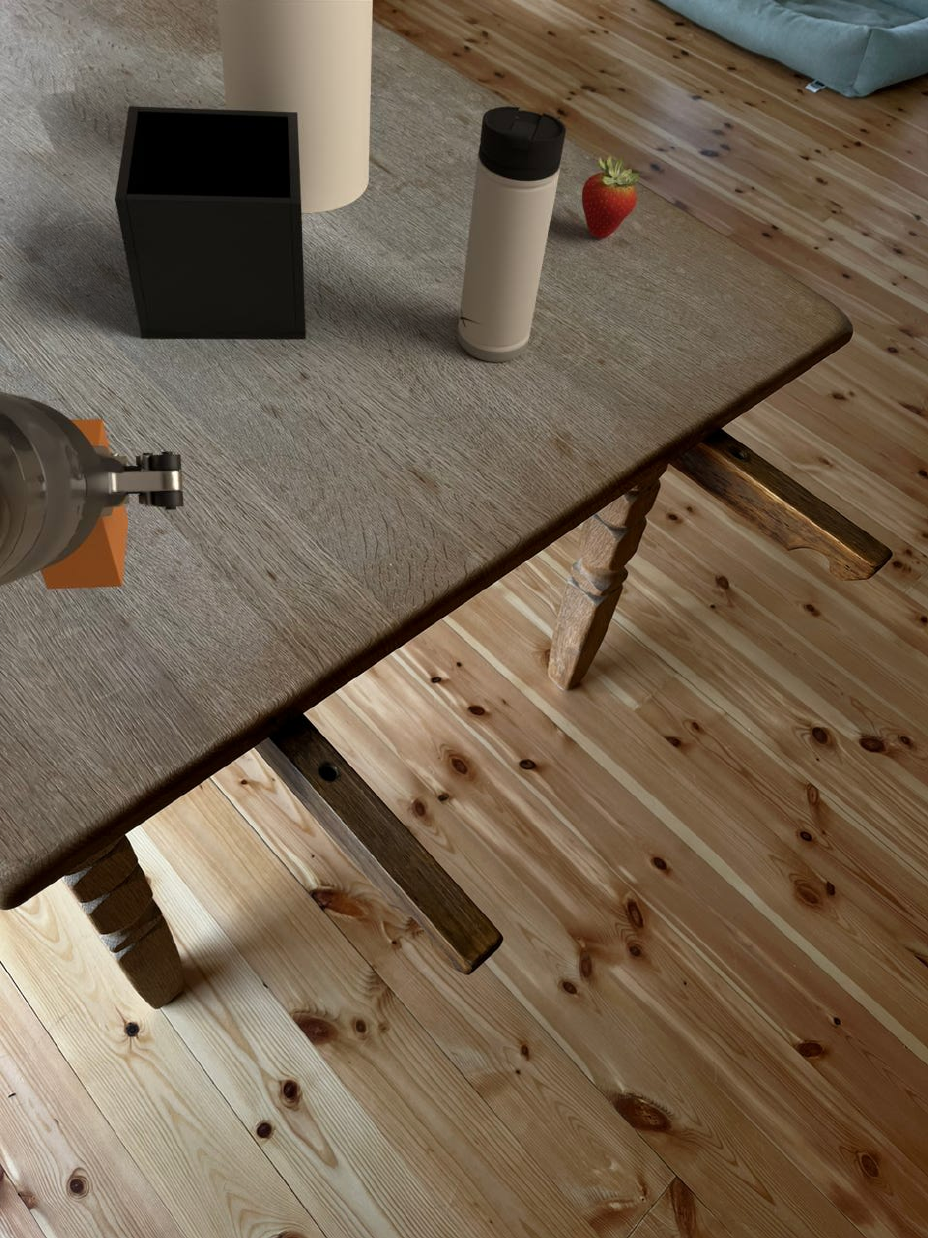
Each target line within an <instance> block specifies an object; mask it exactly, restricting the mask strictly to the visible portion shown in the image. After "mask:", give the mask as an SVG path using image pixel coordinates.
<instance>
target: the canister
mask: <svg viewBox="0 0 928 1238" xmlns="http://www.w3.org/2000/svg"><path fill="white" fill-rule="evenodd" d="M373 6H374V0H216V8H217V19H218V30H219V42H220V52H221V60H222V61H221V63H222V73H223V84H224V97H225V105H226V106H225V107H226V110H247V111H274V112H297V114H298V138H299V162H300V187H301V212H302V214H313V213H314V214H316V213H323V212H324V213H325V212H329V211H333V210H337V209H340V208H343V207H345V206H348V205H350V204H351V203H353V202H355V201H356V200H358V199H359V198H360V197H362V196H363V194H364V193H365V191H366V190H367V188H368V185H369V182H370V181H369V180H370V142H371V141H370V137H371V136H370V134H371V99H372V98H371V97H372V96H371V95H372V94H371V91H372V49H373V10H374V9H373Z"/></svg>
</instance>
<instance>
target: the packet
mask: <svg viewBox="0 0 928 1238" xmlns="http://www.w3.org/2000/svg"><path fill="white" fill-rule="evenodd" d="M70 420H71V421H72V422H73V423H74V424H75V425H76V426H77V427H78V428H79V429H80V430H81V431H82V432H83V434H84V435H85V436H86V438H87V439H88V440H89V442H90V443H91V445H92V446H106V447H107V448H108V450H109V453H112V452H111V448H110V444H109V439H108V436H107V431H106V428H105V424H104V420H103V419H102V418H100V419H99V418H96V419H92V418H91V419H88V418H87V419H70ZM122 505H123V506H121V507H114V508H113V512H112V514H111V515H110V516H103V517H99V519H98V521H97V523H96V525H95V527H94V529H93V530H92V532H91V534H90V535H89V537H88V538H87V539H86V540H85V542H84V543H83V544H82V545H81V546H80V547H79V548H78V549H77V550H76V551H75V552H74V553H72V554H71V555H70V556H68V557H67V558H65V559H64V560H62V561H60V562H58V563H56V564H54V565H52V566H50V567H47V568H45V569H43V570H40V573H41V575H42V578H43V581H44V583H45V587H46V588H47V590H67V589H69V590H70V589H71V590H72V589H90V588H91V589H95V588H98V589H99V588H121V587H123V581H124V572H125V570H124V569H125V561H126V549H127V541H128V540H127V538H128V528H129V517H128V513H127V510H126V506H125V505H126V504H122Z"/></svg>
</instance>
